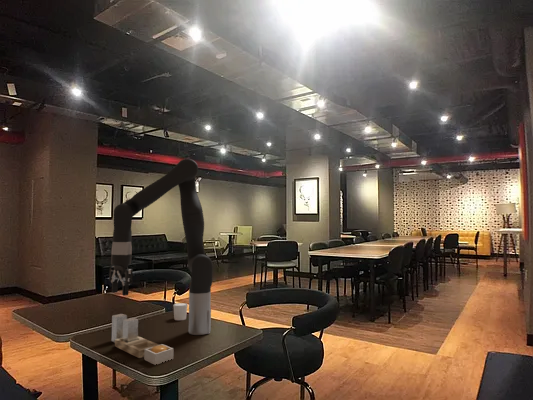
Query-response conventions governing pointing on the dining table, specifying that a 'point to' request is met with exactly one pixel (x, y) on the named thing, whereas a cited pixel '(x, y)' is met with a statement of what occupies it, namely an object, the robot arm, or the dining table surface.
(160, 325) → the dining table surface
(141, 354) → the beige compartment tray
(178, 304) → the white cup
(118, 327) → the loose billet
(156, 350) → the button
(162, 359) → the button housing
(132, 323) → the seated billet
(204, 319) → the robot arm
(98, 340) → the dining table surface
